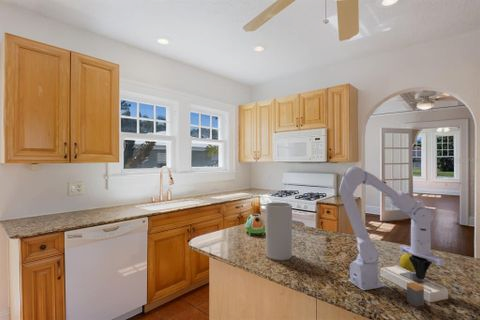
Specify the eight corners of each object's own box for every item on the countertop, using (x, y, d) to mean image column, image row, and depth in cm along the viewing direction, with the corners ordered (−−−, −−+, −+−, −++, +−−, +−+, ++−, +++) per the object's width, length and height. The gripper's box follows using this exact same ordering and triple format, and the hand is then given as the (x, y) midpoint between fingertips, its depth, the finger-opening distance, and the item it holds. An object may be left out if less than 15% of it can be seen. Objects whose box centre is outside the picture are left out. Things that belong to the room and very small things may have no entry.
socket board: (447, 298, 85) (447, 287, 85) (429, 302, 83) (429, 290, 83) (396, 273, 105) (396, 264, 105) (380, 275, 102) (380, 266, 102)
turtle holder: (259, 228, 175) (259, 211, 175) (267, 236, 157) (267, 216, 157) (242, 229, 172) (242, 211, 172) (248, 237, 154) (248, 217, 154)
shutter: (423, 279, 92) (423, 272, 92) (412, 281, 91) (412, 274, 91) (410, 273, 97) (410, 266, 97) (399, 275, 96) (399, 268, 96)
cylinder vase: (260, 256, 123) (260, 204, 124) (275, 249, 133) (275, 201, 133) (282, 263, 115) (282, 207, 115) (296, 255, 124) (296, 204, 124)
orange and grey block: (416, 306, 81) (416, 287, 81) (406, 301, 84) (406, 283, 84) (423, 305, 82) (423, 286, 82) (414, 299, 85) (414, 281, 85)
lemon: (400, 268, 109) (400, 250, 109) (416, 272, 105) (416, 253, 105) (398, 273, 105) (398, 253, 105) (415, 277, 101) (415, 257, 101)
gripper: (450, 245, 85) (450, 286, 84) (410, 233, 98) (410, 268, 98) (434, 247, 83) (434, 289, 83) (396, 234, 97) (396, 270, 96)
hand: (420, 278), depth 90 cm, fingers closed
